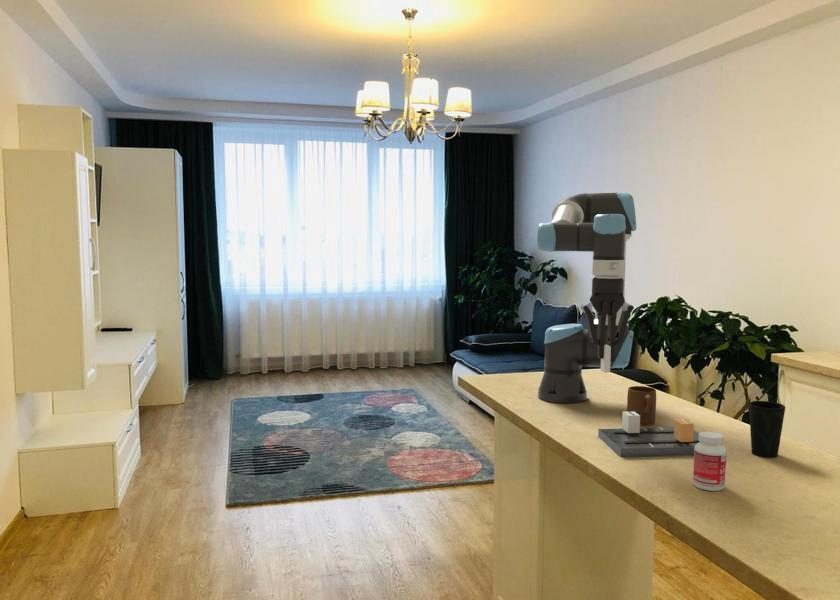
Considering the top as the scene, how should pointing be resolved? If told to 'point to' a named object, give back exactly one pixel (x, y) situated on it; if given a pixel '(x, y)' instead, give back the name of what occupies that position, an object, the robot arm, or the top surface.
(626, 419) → the fader
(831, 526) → the top surface
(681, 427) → the fader
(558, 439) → the top surface
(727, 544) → the top surface
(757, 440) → the cup
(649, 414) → the mug
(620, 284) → the robot arm
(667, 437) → the console
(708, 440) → the pill bottle
